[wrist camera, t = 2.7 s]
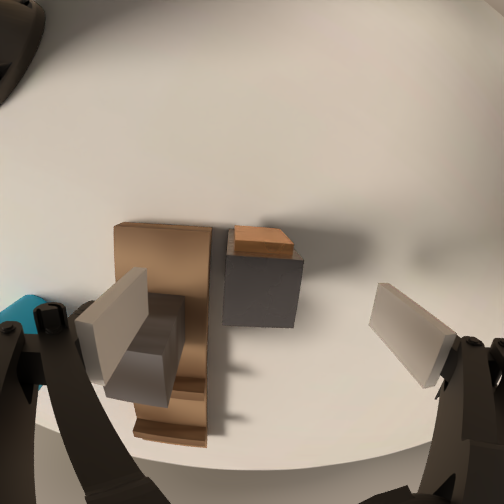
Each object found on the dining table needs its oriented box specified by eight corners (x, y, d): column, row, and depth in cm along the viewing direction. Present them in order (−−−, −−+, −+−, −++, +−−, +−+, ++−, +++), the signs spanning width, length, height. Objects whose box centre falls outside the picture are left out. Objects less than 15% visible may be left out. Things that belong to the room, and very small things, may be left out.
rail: (123, 222, 21) (55, 253, 12) (212, 227, 22) (195, 265, 12) (146, 427, 27) (128, 493, 17) (207, 435, 28) (203, 505, 18)
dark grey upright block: (229, 220, 22) (227, 243, 14) (280, 225, 22) (305, 248, 15) (225, 277, 23) (222, 324, 15) (274, 280, 23) (293, 327, 16)
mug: (61, 299, 23) (15, 339, 15) (77, 366, 25) (44, 414, 17) (-10, 285, 22) (-53, 312, 14) (6, 345, 24) (-28, 379, 16)
